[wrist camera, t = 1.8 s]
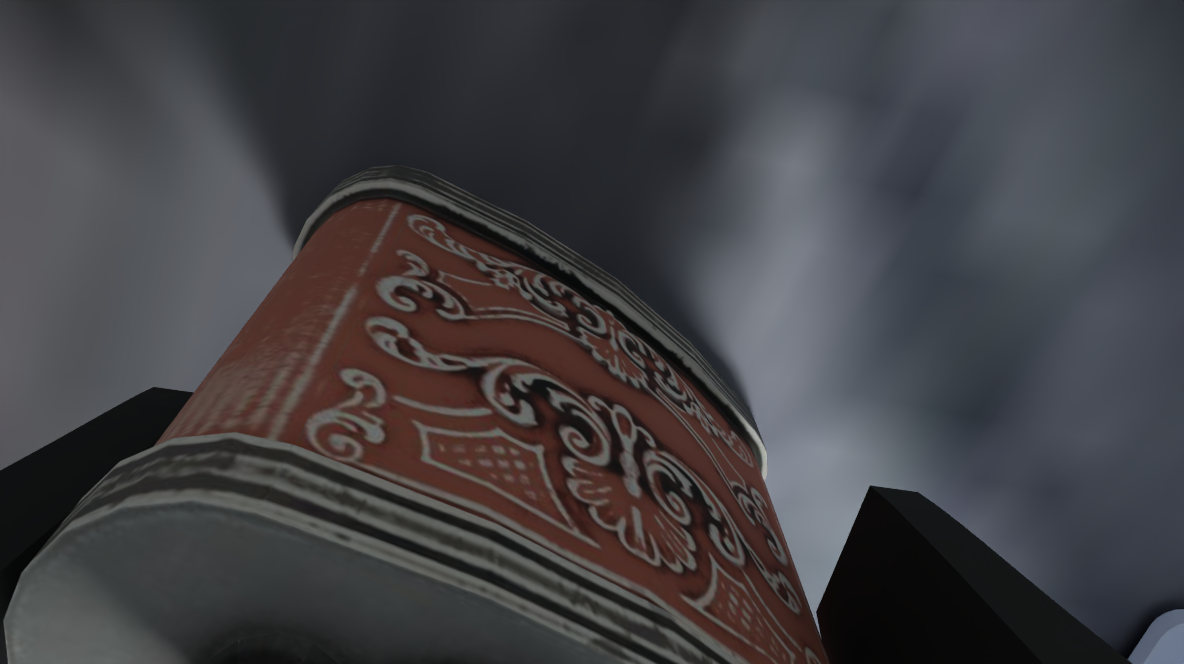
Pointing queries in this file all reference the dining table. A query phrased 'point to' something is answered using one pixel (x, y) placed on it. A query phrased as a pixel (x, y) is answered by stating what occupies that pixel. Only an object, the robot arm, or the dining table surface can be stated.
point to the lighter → (432, 473)
